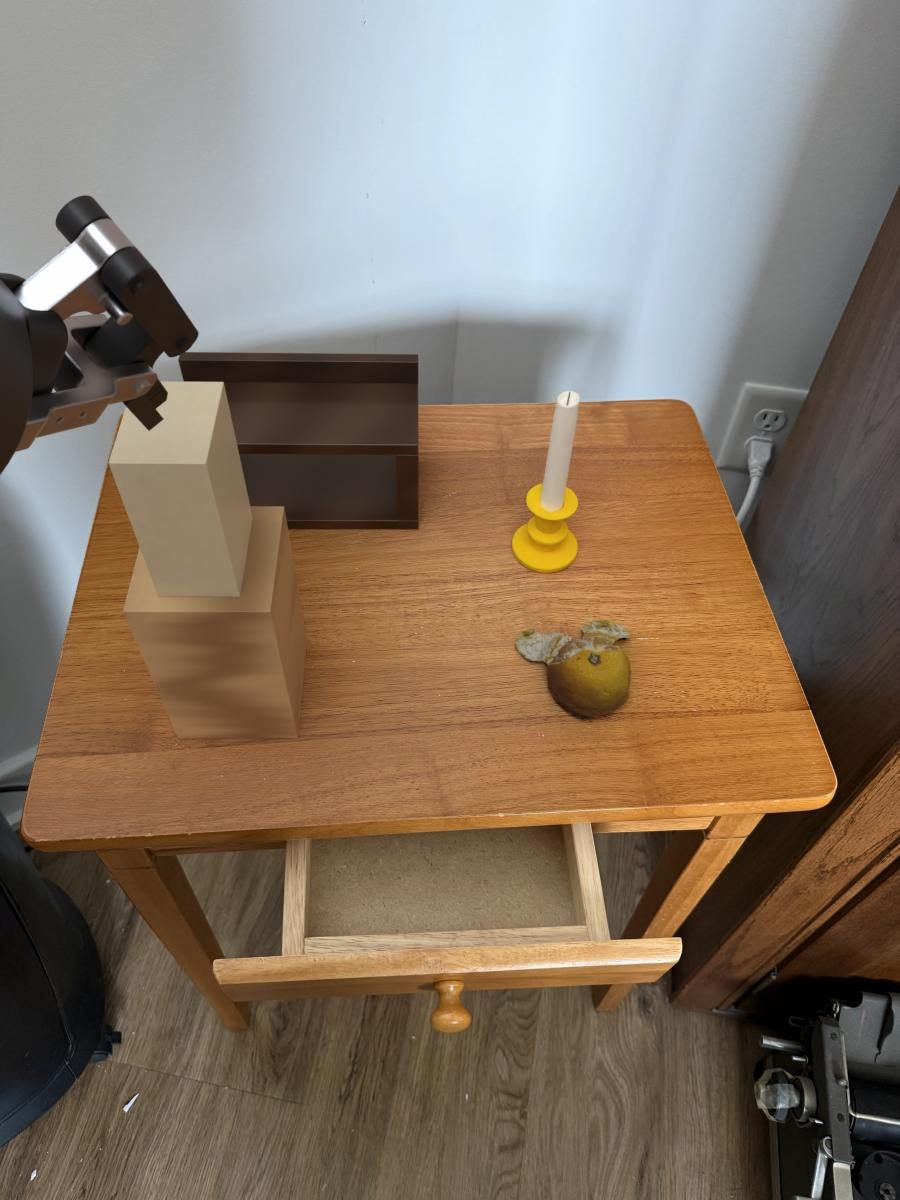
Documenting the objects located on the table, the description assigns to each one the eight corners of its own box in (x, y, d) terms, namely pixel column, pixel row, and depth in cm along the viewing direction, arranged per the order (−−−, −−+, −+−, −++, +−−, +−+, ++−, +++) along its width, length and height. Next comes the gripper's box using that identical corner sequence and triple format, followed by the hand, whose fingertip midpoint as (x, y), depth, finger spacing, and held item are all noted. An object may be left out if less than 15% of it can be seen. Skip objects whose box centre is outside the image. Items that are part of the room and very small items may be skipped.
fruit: (618, 618, 66) (626, 587, 64) (657, 712, 62) (668, 683, 59) (511, 635, 65) (515, 605, 62) (542, 733, 60) (548, 704, 57)
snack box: (158, 597, 49) (107, 463, 41) (176, 517, 53) (133, 380, 45) (240, 597, 49) (206, 463, 41) (253, 517, 53) (223, 381, 45)
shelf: (192, 528, 71) (160, 421, 62) (207, 459, 76) (180, 351, 67) (418, 529, 72) (418, 423, 63) (418, 460, 76) (418, 354, 68)
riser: (177, 739, 59) (122, 611, 48) (196, 641, 64) (149, 505, 53) (298, 738, 60) (270, 611, 49) (307, 641, 64) (284, 505, 53)
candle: (539, 583, 68) (565, 428, 56) (498, 541, 71) (514, 384, 59) (590, 554, 70) (626, 398, 58) (548, 515, 73) (574, 357, 61)
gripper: (-87, -95, 16) (132, 277, 32) (-805, 393, 14) (-197, 529, 31) (186, 221, 16) (268, 434, 33) (-490, 739, 15) (-50, 694, 31)
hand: (43, 480), depth 32 cm, fingers open, 8 cm apart
